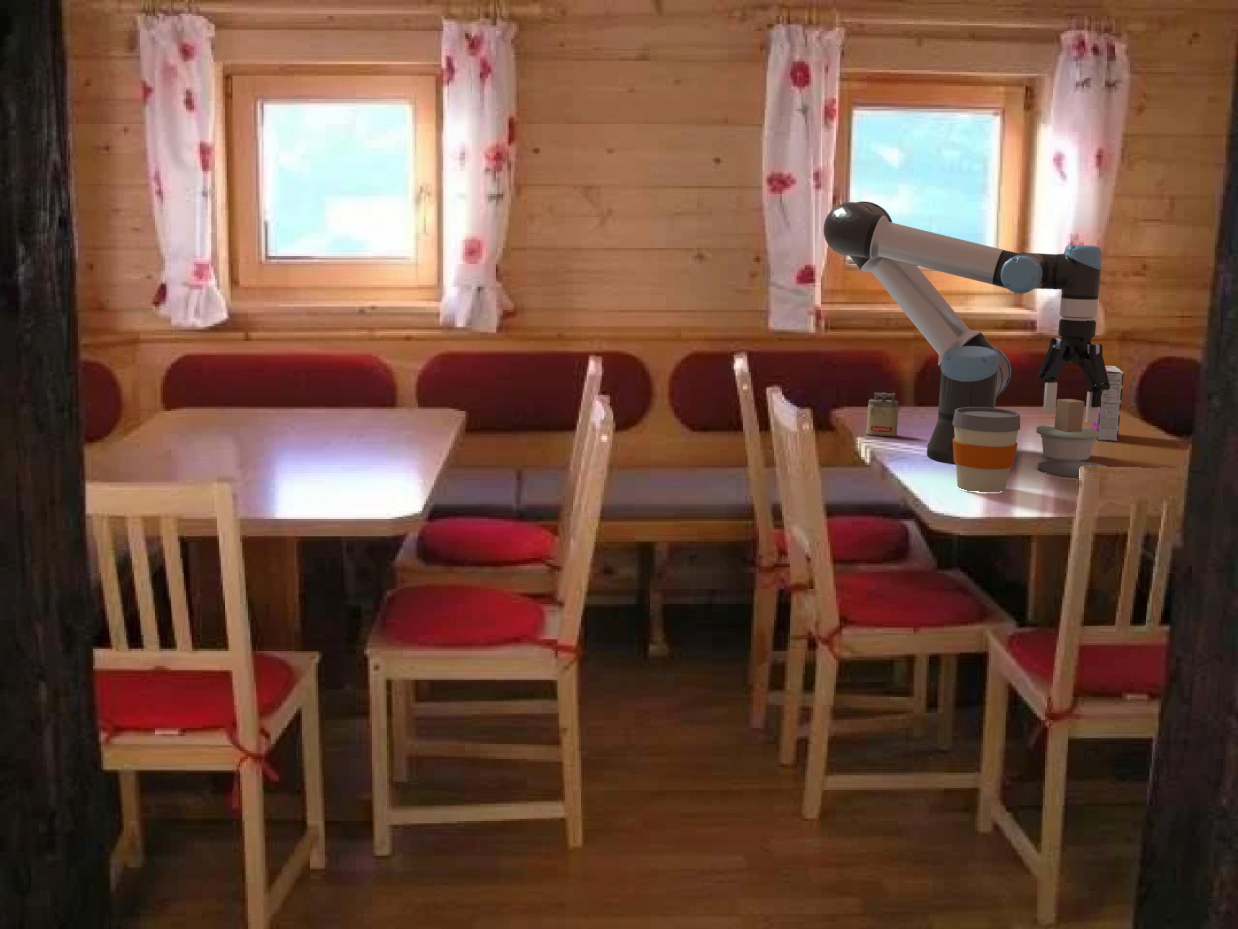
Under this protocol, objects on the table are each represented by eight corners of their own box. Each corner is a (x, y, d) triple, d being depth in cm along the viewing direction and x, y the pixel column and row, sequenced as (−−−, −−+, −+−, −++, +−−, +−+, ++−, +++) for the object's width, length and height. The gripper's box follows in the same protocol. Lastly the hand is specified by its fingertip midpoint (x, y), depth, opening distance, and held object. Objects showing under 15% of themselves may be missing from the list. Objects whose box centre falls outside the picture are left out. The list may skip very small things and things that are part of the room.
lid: (1064, 440, 283) (1067, 406, 282) (1023, 430, 295) (1026, 397, 294) (1112, 437, 288) (1115, 403, 287) (1070, 427, 300) (1073, 394, 299)
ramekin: (1028, 454, 296) (1030, 430, 295) (1068, 451, 300) (1070, 428, 299) (1063, 464, 286) (1065, 439, 285) (1104, 461, 290) (1106, 437, 289)
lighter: (865, 435, 314) (868, 392, 312) (866, 432, 317) (869, 390, 315) (896, 437, 312) (899, 394, 310) (897, 434, 316) (900, 392, 314)
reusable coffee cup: (1025, 496, 253) (1031, 417, 250) (960, 496, 252) (966, 417, 249) (1001, 482, 266) (1007, 407, 263) (939, 481, 265) (944, 406, 262)
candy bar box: (1089, 432, 324) (1095, 364, 321) (1111, 433, 323) (1117, 365, 320) (1095, 440, 314) (1102, 370, 310) (1118, 441, 313) (1125, 371, 309)
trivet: (1070, 480, 269) (1070, 476, 268) (1022, 465, 282) (1023, 462, 282) (1130, 476, 274) (1130, 472, 274) (1080, 462, 288) (1080, 458, 287)
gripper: (1133, 323, 277) (1124, 425, 281) (1053, 313, 299) (1046, 407, 304) (1104, 324, 274) (1095, 427, 278) (1025, 313, 297) (1018, 408, 301)
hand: (1069, 417), depth 291 cm, fingers open, 13 cm apart
